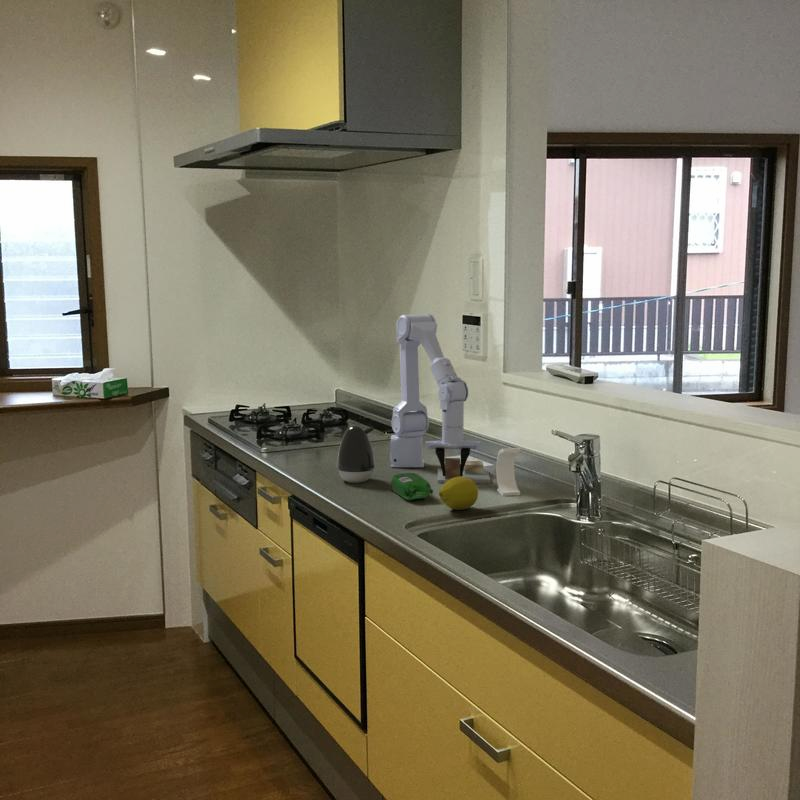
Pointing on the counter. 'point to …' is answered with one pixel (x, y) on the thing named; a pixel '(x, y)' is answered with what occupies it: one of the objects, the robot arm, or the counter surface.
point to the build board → (474, 477)
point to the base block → (474, 467)
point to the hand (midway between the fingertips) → (452, 475)
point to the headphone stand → (506, 472)
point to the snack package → (411, 486)
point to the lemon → (459, 493)
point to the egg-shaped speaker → (355, 455)
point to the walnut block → (452, 468)
